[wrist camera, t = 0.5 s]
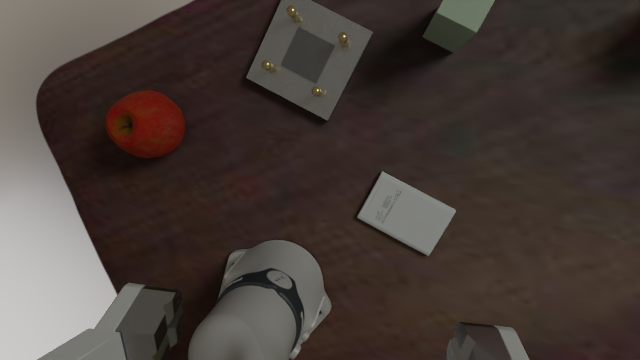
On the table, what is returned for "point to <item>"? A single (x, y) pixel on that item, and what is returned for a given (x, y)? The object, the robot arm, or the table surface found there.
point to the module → (456, 22)
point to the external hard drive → (406, 213)
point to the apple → (146, 124)
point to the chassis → (309, 55)
